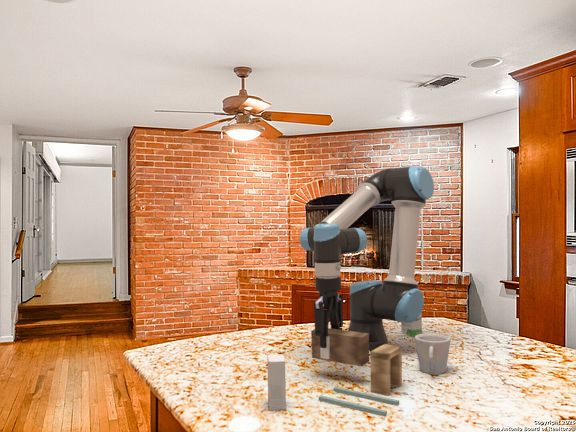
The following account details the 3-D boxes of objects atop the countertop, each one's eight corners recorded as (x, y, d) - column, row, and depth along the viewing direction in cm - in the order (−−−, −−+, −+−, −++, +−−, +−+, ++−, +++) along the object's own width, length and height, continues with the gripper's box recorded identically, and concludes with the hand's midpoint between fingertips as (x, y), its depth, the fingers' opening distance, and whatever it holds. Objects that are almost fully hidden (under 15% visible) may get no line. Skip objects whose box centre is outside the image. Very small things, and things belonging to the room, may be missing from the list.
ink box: (422, 336, 190) (422, 305, 190) (411, 337, 189) (410, 306, 189) (411, 331, 198) (411, 302, 198) (400, 332, 197) (400, 302, 197)
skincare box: (267, 401, 125) (267, 354, 125) (284, 400, 125) (283, 353, 125) (268, 410, 119) (268, 361, 119) (286, 410, 119) (285, 360, 119)
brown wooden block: (312, 357, 145) (311, 330, 144) (320, 353, 149) (319, 327, 149) (361, 366, 136) (360, 337, 136) (369, 361, 140) (368, 333, 140)
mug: (451, 366, 152) (450, 334, 152) (450, 382, 138) (450, 346, 138) (416, 363, 155) (416, 332, 155) (412, 378, 141) (411, 344, 141)
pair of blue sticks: (318, 400, 125) (318, 396, 125) (335, 390, 133) (335, 386, 133) (384, 416, 115) (384, 412, 115) (399, 404, 122) (399, 400, 122)
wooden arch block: (370, 391, 131) (370, 351, 131) (385, 381, 139) (384, 343, 139) (388, 395, 128) (387, 354, 128) (401, 385, 136) (401, 346, 136)
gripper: (323, 281, 134) (325, 366, 135) (353, 273, 149) (355, 349, 149) (300, 280, 138) (302, 362, 139) (331, 271, 153) (333, 346, 154)
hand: (330, 355), depth 144 cm, fingers closed on brown wooden block, 5 cm apart
